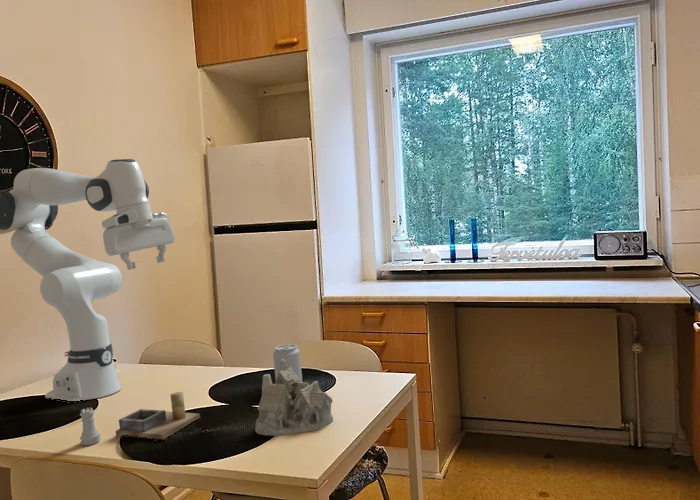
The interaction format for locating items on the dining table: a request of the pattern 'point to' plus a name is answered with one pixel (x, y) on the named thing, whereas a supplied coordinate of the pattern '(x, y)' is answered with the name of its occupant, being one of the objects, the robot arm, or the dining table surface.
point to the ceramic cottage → (291, 405)
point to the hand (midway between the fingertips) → (146, 265)
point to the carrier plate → (157, 420)
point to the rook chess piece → (88, 428)
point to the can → (288, 359)
